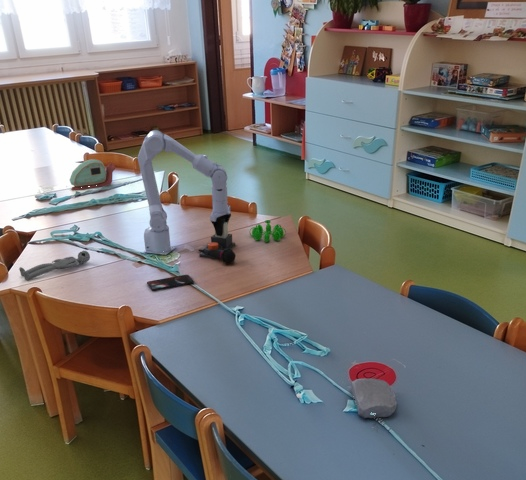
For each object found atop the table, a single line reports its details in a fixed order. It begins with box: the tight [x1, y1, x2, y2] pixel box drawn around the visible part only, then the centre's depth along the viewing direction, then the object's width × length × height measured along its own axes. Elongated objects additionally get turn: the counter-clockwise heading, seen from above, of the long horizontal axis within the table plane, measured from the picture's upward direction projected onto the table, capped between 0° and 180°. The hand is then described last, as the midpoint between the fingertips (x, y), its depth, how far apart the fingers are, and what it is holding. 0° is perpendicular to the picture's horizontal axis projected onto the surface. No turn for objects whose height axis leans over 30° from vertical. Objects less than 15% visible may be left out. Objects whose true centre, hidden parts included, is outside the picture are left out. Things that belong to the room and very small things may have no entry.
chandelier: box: [249, 220, 287, 243], centre depth 235 cm, size 15×15×7 cm
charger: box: [214, 222, 229, 238], centre depth 224 cm, size 4×3×6 cm
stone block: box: [350, 377, 398, 419], centre depth 137 cm, size 12×5×10 cm
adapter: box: [199, 241, 236, 261], centre depth 224 cm, size 8×16×3 cm, turn 159°
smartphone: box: [146, 274, 195, 291], centre depth 198 cm, size 7×1×15 cm
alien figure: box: [18, 250, 91, 281], centre depth 208 cm, size 8×5×25 cm
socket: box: [210, 233, 233, 248], centre depth 226 cm, size 6×6×5 cm
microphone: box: [198, 248, 236, 265], centre depth 217 cm, size 6×6×20 cm
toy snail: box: [69, 158, 116, 191], centre depth 304 cm, size 25×8×14 cm, turn 122°
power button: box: [207, 241, 218, 250], centre depth 219 cm, size 4×4×2 cm
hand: (221, 233), depth 225 cm, fingers closed on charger, 3 cm apart
